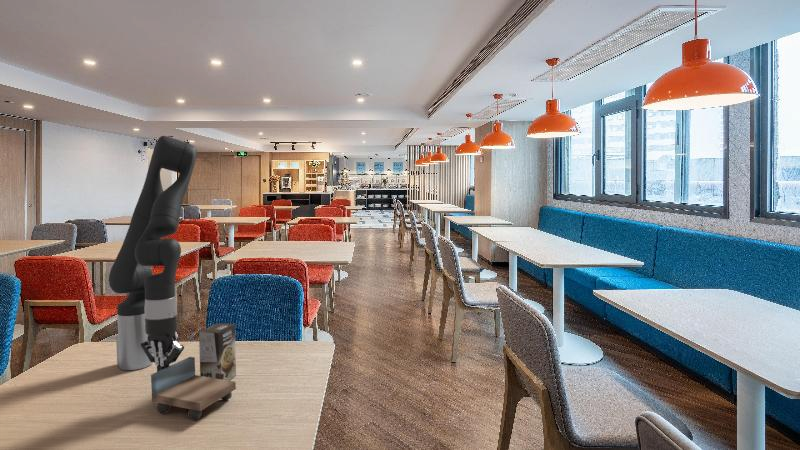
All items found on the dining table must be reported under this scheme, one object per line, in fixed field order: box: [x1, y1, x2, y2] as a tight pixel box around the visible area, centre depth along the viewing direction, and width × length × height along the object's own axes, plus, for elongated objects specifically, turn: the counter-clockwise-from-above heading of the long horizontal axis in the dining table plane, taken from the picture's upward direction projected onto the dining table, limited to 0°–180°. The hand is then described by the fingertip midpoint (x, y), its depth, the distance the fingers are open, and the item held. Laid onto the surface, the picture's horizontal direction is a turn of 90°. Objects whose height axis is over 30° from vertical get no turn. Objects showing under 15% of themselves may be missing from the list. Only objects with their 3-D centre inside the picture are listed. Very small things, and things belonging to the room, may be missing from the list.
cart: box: [150, 356, 237, 421], centre depth 120 cm, size 15×13×10 cm
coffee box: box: [198, 322, 237, 381], centre depth 135 cm, size 9×6×16 cm
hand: (163, 378), depth 123 cm, fingers closed
